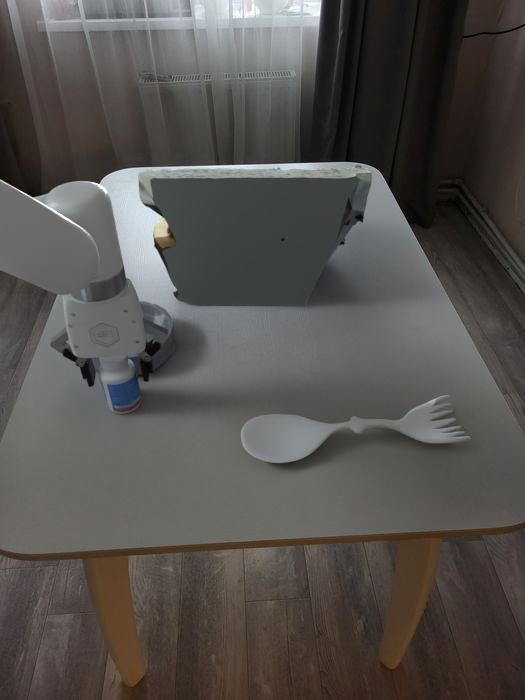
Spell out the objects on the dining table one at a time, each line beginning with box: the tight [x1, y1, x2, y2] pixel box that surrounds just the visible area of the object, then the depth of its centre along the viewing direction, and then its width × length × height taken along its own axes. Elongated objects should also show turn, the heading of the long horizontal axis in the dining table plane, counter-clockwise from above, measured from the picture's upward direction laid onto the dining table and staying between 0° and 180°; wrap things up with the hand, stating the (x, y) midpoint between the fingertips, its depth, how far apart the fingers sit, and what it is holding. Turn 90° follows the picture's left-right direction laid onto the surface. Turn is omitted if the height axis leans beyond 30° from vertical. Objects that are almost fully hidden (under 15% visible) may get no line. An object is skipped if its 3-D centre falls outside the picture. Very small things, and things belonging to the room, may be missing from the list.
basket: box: [137, 164, 373, 307], centre depth 107 cm, size 40×31×28 cm
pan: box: [92, 300, 177, 376], centre depth 95 cm, size 16×16×4 cm
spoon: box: [240, 394, 472, 464], centre depth 80 cm, size 9×32×4 cm, turn 96°
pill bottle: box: [97, 355, 143, 415], centre depth 84 cm, size 6×5×10 cm
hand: (119, 377), depth 84 cm, fingers open, 7 cm apart
